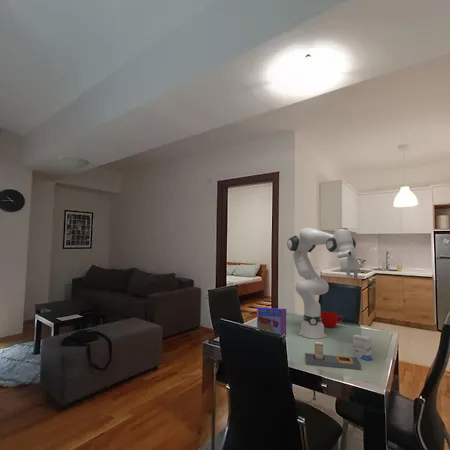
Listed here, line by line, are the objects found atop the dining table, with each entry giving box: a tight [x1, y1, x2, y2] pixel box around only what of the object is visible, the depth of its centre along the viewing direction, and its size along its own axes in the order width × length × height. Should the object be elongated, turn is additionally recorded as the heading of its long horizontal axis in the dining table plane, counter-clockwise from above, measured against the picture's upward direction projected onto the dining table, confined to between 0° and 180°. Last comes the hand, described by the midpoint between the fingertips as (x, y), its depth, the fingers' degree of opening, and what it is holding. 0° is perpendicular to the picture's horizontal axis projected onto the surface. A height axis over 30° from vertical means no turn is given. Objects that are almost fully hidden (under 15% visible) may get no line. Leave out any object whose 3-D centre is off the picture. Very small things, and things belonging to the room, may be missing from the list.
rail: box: [304, 353, 362, 371], centre depth 158 cm, size 10×27×3 cm, turn 79°
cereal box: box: [256, 307, 287, 336], centre depth 179 cm, size 17×5×24 cm, turn 82°
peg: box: [314, 341, 324, 360], centre depth 159 cm, size 4×4×10 cm
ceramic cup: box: [321, 311, 344, 329], centre depth 231 cm, size 13×17×10 cm
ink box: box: [352, 334, 373, 362], centre depth 167 cm, size 9×5×12 cm, turn 45°
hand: (353, 278), depth 168 cm, fingers open, 8 cm apart
